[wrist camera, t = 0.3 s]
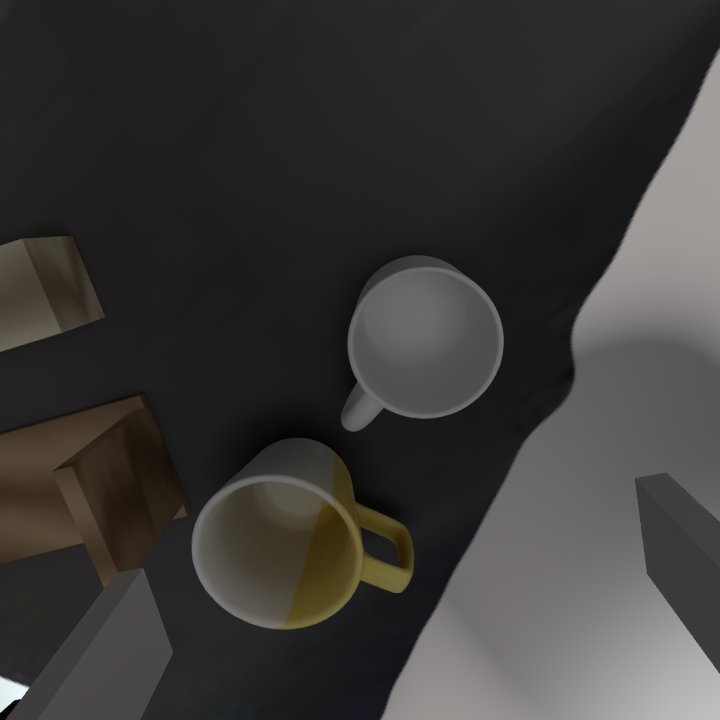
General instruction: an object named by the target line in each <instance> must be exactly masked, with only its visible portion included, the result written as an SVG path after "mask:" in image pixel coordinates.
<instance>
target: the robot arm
mask: <svg viewBox="0 0 720 720" xmlns="http://www.w3.org/2000/svg"><path fill="white" fill-rule="evenodd" d="M635 483H636V491H637V498H638V506H639V514H640V522H641V530H642V537H643V545H644V553H645V561H646V568H647V574H648V576H649V577H650V578H651V580H652V581H653V583H654V584H655V585H656V587H657V588H658V589H659V591H660V592H661V593H662V595H663V596H664V598H665V599H666V600H667V602H668V603H669V604H670V606H671V607H672V609H673V610H674V611H675V613H676V614H677V615H678V617H679V618H680V620H681V621H682V622H683V624H684V625H685V627H686V628H687V629H688V631H689V632H690V633H691V635H692V636H693V638H694V639H695V640H696V642H697V643H698V644H699V646H700V647H701V649H702V650H703V651H704V653H705V654H706V655H707V657H708V658H709V659H710V661H711V662H712V663H713V665H714V666H715V668H716V669H717V670H718V672H719V673H720V522H719V521H718V520H717V519H716V518H715V517H714V516H713V515H712V514H711V513H709V512H708V511H707V510H706V509H705V508H704V507H703V506H702V505H701V504H700V503H699V502H698V501H696V500H695V499H694V498H693V497H692V496H691V495H690V494H689V493H688V492H687V491H686V490H684V489H683V488H682V487H681V486H680V485H679V484H678V483H677V482H676V481H675V480H674V479H672V478H671V477H670V476H669V475H668V474H667V473H662V474H656V475H651V476H645V477H640V478H635ZM172 653H173V652H172V649H171V646H170V643H169V640H168V637H167V635H166V632H165V629H164V626H163V623H162V620H161V617H160V615H159V612H158V609H157V606H156V603H155V600H154V598H153V595H152V592H151V589H150V586H149V583H148V580H147V578H146V575H145V572H144V569H143V568H140V569H134V570H129V571H123V572H118V573H116V574H115V576H114V577H113V578H112V580H111V581H110V582H109V584H108V585H107V586H106V588H105V589H104V590H103V592H102V593H101V594H100V596H99V597H98V598H97V599H96V601H95V602H94V603H93V605H92V606H91V607H90V609H89V610H88V611H87V613H86V614H85V615H84V617H83V618H82V619H81V621H80V622H79V623H78V625H77V626H76V627H75V629H74V630H73V631H72V633H71V634H70V635H69V637H68V638H67V639H66V640H65V642H64V643H63V644H62V646H61V647H60V648H59V650H58V651H57V652H56V654H55V655H54V656H53V658H52V659H51V660H50V662H49V663H48V664H47V666H46V667H45V668H44V670H43V671H42V672H41V674H40V675H39V676H38V677H37V679H36V680H35V681H34V683H33V684H32V685H31V687H30V688H29V689H28V691H27V692H26V693H25V695H24V696H23V697H22V699H19V700H15V701H13V702H12V703H11V704H10V705H9V706H8V707H6V708H5V709H4V710H3V711H2V712H1V713H0V720H140V719H141V717H142V715H143V713H144V711H145V709H146V706H147V704H148V702H149V700H150V698H151V696H152V694H153V692H154V690H155V688H156V686H157V684H158V682H159V680H160V678H161V676H162V674H163V672H164V670H165V668H166V666H167V664H168V662H169V660H170V657H171V655H172Z"/></svg>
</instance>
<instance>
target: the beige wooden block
mask: <svg viewBox="0 0 720 720" xmlns="http://www.w3.org/2000/svg"><path fill="white" fill-rule="evenodd" d="M102 318H105V315H104V313H103V311H102V308H101V306H100V303H99V301H98V298H97V296H96V293H95V291H94V288H93V286H92V283H91V281H90V278H89V276H88V273H87V271H86V268H85V266H84V264H83V261H82V259H81V256H80V254H79V251H78V249H77V246H76V244H75V241H74V239H73V236H60V237H43V238H26V239H20V240H17V241H14V242H10V243H7V244H4V245H1V246H0V352H1V351H4V350H7V349H11V348H14V347H17V346H20V345H24V344H27V343H30V342H33V341H37V340H40V339H43V338H46V337H50V336H53V335H56V334H59V333H63V332H65V331H68V330H71V329H74V328H77V327H79V326H82V325H85V324H88V323H91V322H94V321H96V320H99V319H102Z"/></svg>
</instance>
